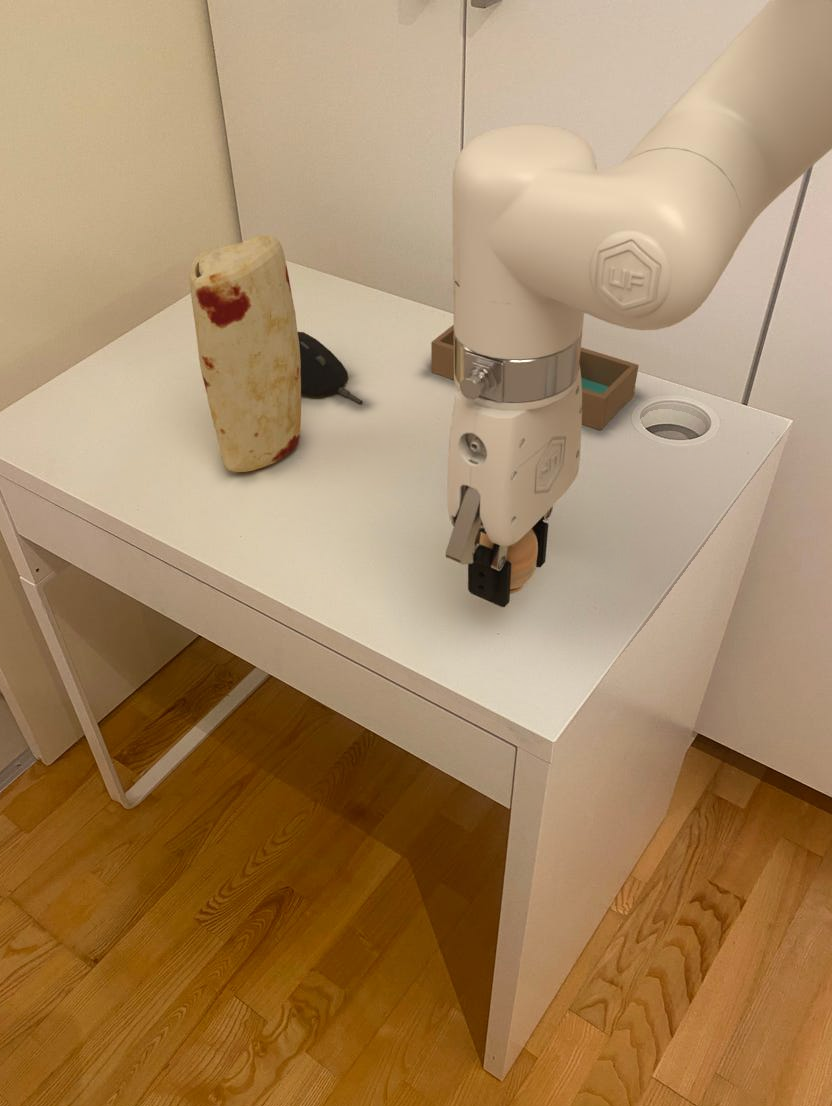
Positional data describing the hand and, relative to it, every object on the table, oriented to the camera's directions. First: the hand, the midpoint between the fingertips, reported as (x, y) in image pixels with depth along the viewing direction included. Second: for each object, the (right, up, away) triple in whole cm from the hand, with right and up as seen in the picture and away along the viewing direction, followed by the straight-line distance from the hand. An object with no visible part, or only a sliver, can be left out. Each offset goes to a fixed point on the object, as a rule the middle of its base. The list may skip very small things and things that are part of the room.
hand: (506, 576), depth 73 cm
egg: (0, 0, 0) cm, 1 cm away
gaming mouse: (-16, +22, +28) cm, 39 cm away
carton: (+6, +21, +25) cm, 33 cm away
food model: (-20, +13, +20) cm, 30 cm away
